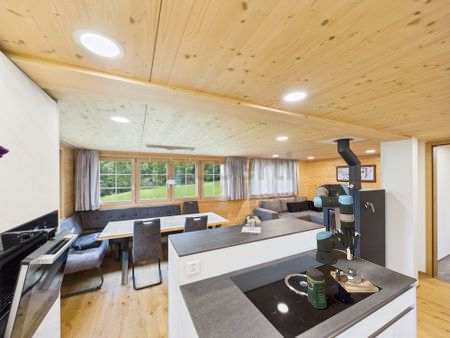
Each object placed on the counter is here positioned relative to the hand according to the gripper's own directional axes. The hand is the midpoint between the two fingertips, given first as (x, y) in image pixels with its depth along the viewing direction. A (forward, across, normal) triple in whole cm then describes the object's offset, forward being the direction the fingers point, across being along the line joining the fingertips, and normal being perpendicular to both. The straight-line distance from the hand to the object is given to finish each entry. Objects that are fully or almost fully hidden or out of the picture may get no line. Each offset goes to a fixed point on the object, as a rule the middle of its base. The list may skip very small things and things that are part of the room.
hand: (349, 258), depth 111 cm
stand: (+20, +4, -11) cm, 23 cm away
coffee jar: (+20, +7, +27) cm, 34 cm away
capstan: (+18, +5, -7) cm, 20 cm away
